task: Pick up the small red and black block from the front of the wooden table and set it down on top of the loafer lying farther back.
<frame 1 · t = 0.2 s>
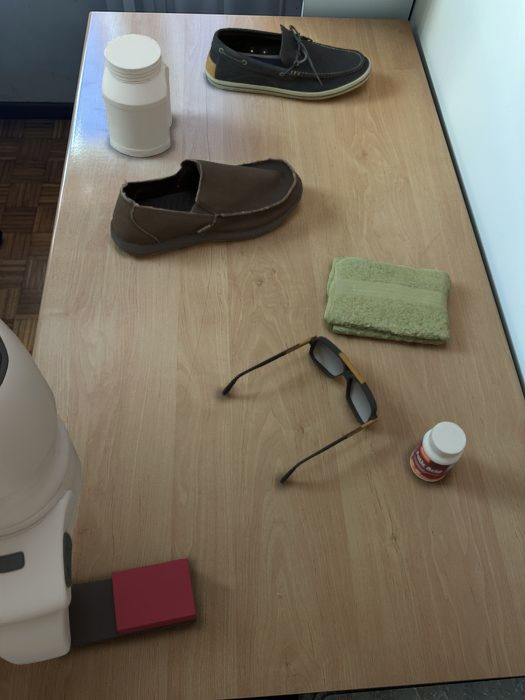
hand: (52, 536, 54), 21 cm above the table, tool pointing down, fingers open, 8 cm apart
washcloth: (385, 306, 95), on the table
sunglasses: (300, 411, 85), on the table
loafer: (211, 223, 101), on the table
boat shoe: (286, 82, 119), on the table
pill bottle: (427, 465, 83), on the table
jar: (142, 133, 110), on the table
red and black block: (127, 606, 71), on the table
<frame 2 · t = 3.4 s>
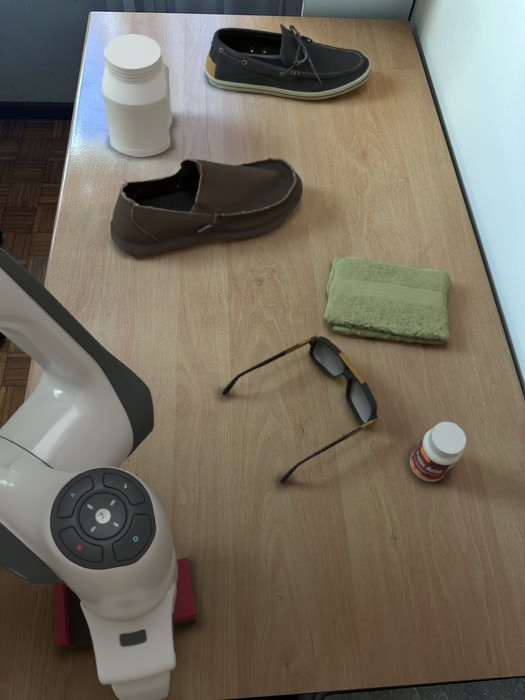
hand: (140, 600, 70), 2 cm above the table, tool pointing down, fingers closed on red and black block, 6 cm apart
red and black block: (127, 606, 71), on the table, touching gripper
everything else where it was.
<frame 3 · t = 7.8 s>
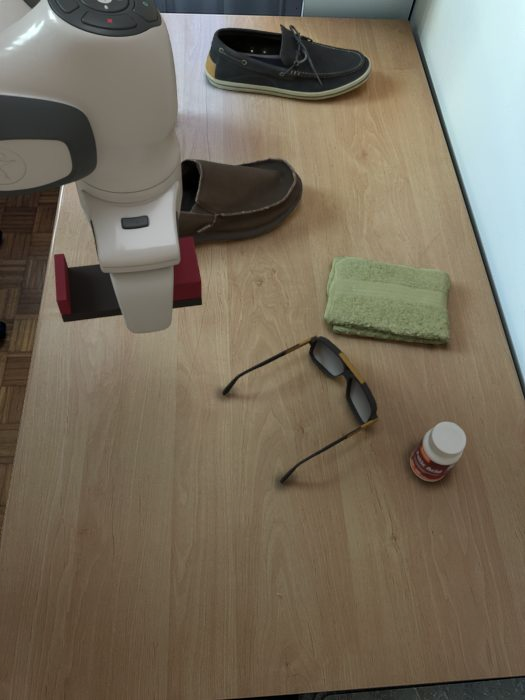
hand: (143, 279, 68), 21 cm above the table, tool pointing down, fingers closed on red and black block, 6 cm apart
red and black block: (131, 290, 69), point 20 cm above the table, touching gripper
everything else where it was.
when the fingers open (12 cm above the table, at t = 12.4 s): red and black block stays where it is, resting on loafer.
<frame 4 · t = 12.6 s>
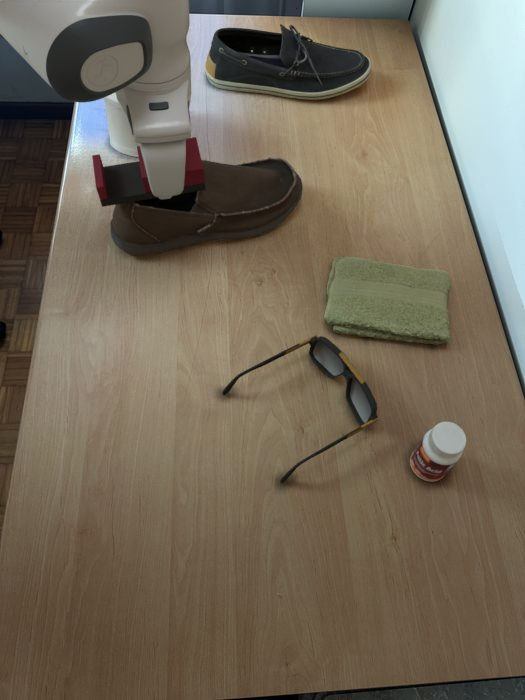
hand: (160, 170, 89), 12 cm above the table, tool pointing down, fingers open, 8 cm apart
loafer: (211, 223, 101), on the table, touching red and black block
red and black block: (151, 181, 90), point 10 cm above the table, touching loafer
everything else where it was.
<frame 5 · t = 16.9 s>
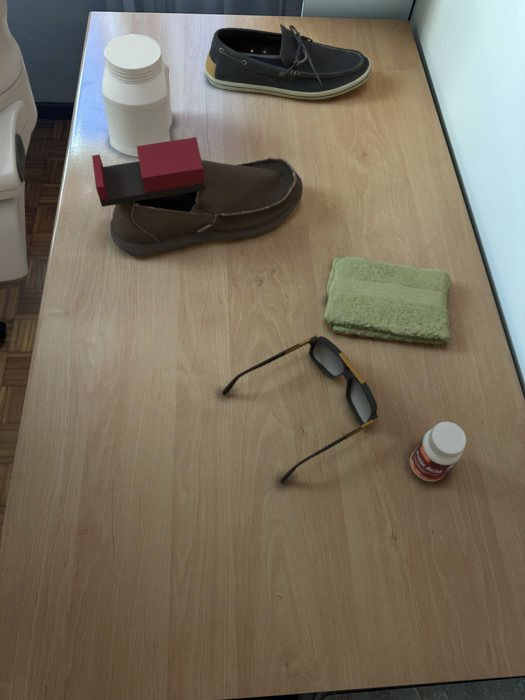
hand: (17, 229, 60), 29 cm above the table, tool pointing down, fingers open, 8 cm apart
nothing on the table moved.
at the end: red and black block inside the target area on the loafer (4.3 cm from its centre), point 10.2 cm above the loafer's base; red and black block touching loafer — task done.
